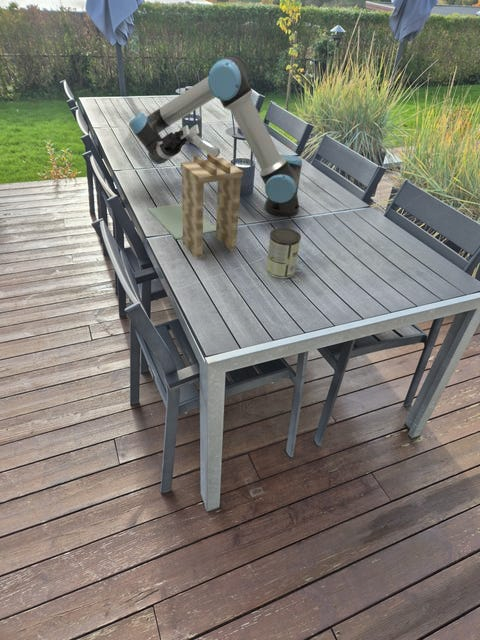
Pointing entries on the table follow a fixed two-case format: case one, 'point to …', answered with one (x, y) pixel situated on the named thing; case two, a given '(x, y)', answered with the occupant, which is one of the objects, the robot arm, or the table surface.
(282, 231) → the coffee can
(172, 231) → the sage mat
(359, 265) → the table surface
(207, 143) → the steel rod
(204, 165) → the oak bridge
